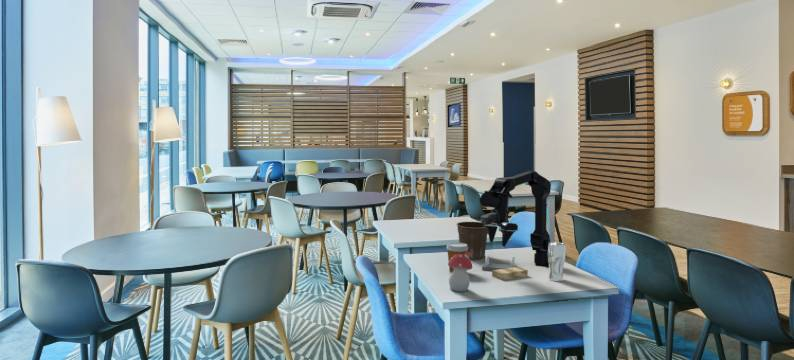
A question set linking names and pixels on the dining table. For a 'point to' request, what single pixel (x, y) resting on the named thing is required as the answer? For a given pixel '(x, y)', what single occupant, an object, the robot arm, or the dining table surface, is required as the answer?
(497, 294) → the dining table surface
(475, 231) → the plant pot
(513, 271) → the oak plank
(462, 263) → the decorative ornament
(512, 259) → the peg stand
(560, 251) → the beer glass
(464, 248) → the lidded amber jar
